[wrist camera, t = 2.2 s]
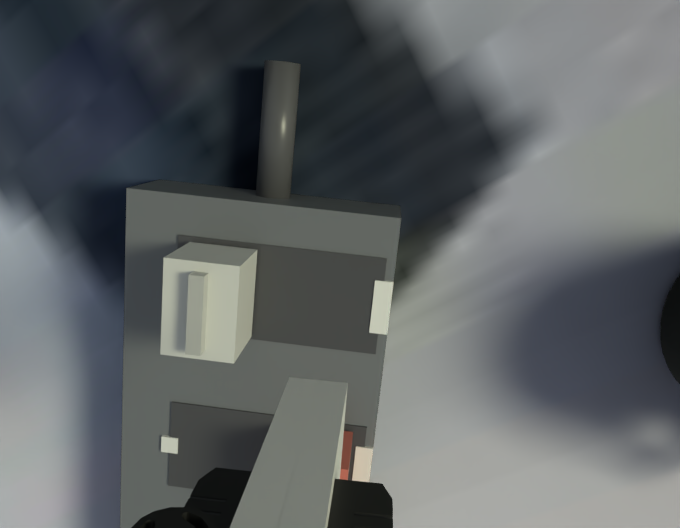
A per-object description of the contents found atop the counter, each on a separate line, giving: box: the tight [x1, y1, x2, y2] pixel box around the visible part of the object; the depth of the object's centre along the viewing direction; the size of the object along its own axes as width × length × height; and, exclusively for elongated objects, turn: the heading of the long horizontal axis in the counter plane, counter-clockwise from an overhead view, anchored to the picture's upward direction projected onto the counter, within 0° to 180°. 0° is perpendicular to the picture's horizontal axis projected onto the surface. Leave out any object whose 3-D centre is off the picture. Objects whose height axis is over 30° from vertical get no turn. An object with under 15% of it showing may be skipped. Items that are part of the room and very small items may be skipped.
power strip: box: [120, 60, 401, 528], centre depth 31 cm, size 30×12×4 cm, turn 174°
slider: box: [160, 242, 257, 364], centre depth 26 cm, size 4×3×4 cm
